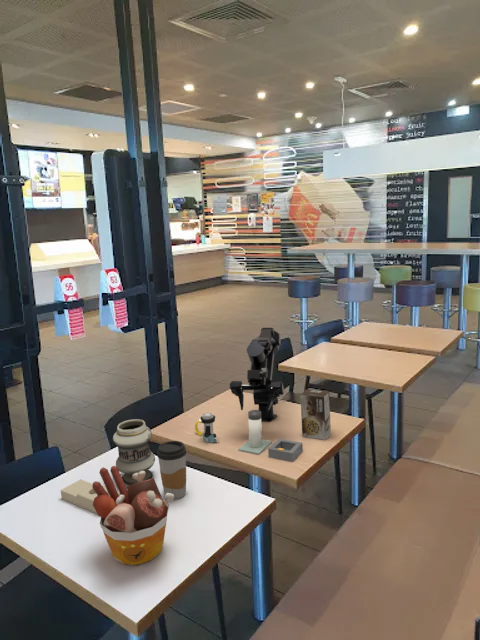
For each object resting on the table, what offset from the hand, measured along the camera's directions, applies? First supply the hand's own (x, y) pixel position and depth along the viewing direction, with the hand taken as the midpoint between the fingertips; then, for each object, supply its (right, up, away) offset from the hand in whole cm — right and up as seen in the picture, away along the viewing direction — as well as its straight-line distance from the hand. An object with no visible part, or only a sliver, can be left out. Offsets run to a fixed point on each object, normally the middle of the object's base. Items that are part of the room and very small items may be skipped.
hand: (254, 410), depth 175 cm
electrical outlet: (-48, -22, -29) cm, 60 cm away
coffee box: (+22, -11, +7) cm, 26 cm away
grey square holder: (+10, -14, -7) cm, 18 cm away
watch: (-19, -12, +13) cm, 26 cm away
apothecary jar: (-37, -18, -17) cm, 45 cm away
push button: (-16, -13, +7) cm, 21 cm away
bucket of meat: (-30, -25, -53) cm, 66 cm away
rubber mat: (0, -13, 0) cm, 13 cm away
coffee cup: (-24, -20, -28) cm, 42 cm away
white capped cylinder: (0, -12, 0) cm, 12 cm away
